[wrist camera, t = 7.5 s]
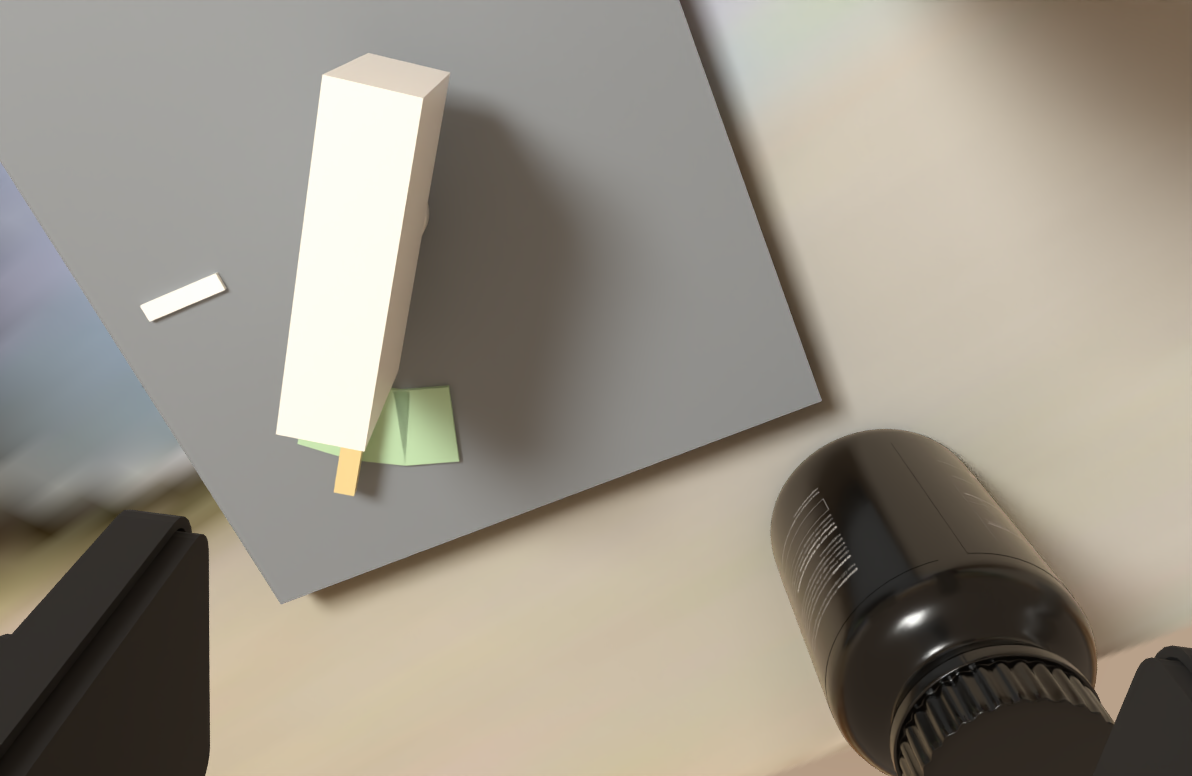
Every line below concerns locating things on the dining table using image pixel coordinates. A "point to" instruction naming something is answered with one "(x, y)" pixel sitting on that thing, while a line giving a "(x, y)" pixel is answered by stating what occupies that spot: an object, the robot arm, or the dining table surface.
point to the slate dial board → (445, 262)
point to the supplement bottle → (934, 616)
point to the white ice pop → (359, 251)
